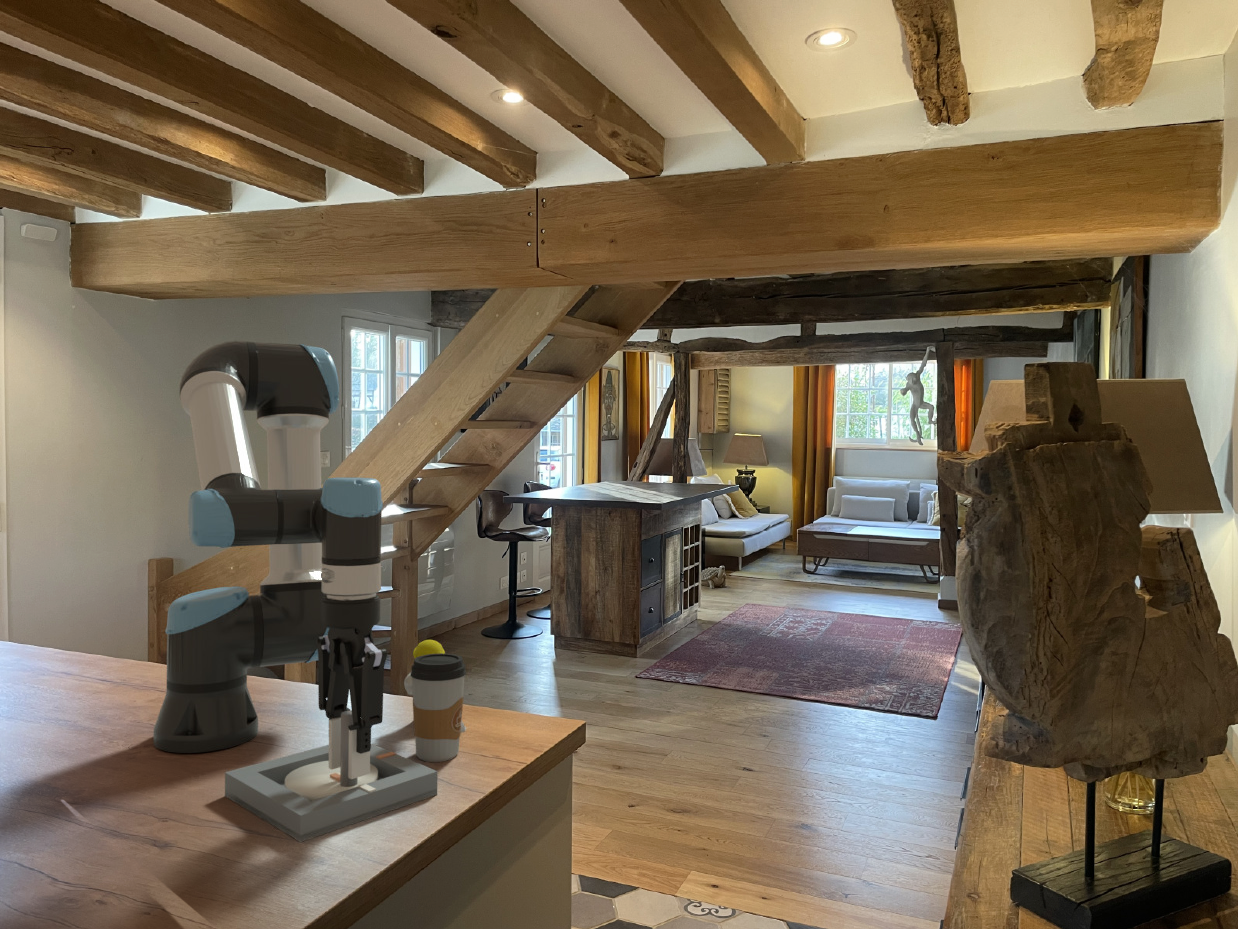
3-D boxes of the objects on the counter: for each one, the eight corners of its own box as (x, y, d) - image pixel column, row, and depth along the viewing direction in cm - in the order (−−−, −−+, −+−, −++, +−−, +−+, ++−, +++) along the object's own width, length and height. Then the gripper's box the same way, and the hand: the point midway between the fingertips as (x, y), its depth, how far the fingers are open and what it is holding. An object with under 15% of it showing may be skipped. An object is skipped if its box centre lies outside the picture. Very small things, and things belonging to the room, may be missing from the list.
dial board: (224, 796, 119) (225, 770, 118) (356, 758, 134) (356, 736, 133) (300, 842, 105) (300, 814, 105) (437, 794, 120) (437, 770, 120)
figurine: (409, 743, 141) (411, 650, 140) (399, 726, 149) (400, 638, 149) (471, 736, 145) (472, 645, 144) (458, 720, 153) (459, 634, 153)
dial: (267, 787, 119) (268, 706, 119) (347, 764, 128) (348, 689, 128) (313, 813, 111) (314, 726, 111) (395, 787, 120) (396, 706, 120)
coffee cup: (452, 768, 130) (453, 667, 130) (399, 763, 132) (401, 663, 131) (473, 749, 138) (474, 654, 138) (423, 745, 140) (424, 651, 140)
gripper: (291, 590, 119) (289, 762, 119) (362, 607, 108) (359, 797, 108) (341, 584, 125) (339, 748, 125) (413, 599, 113) (411, 780, 114)
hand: (349, 770), depth 117 cm, fingers open, 4 cm apart
